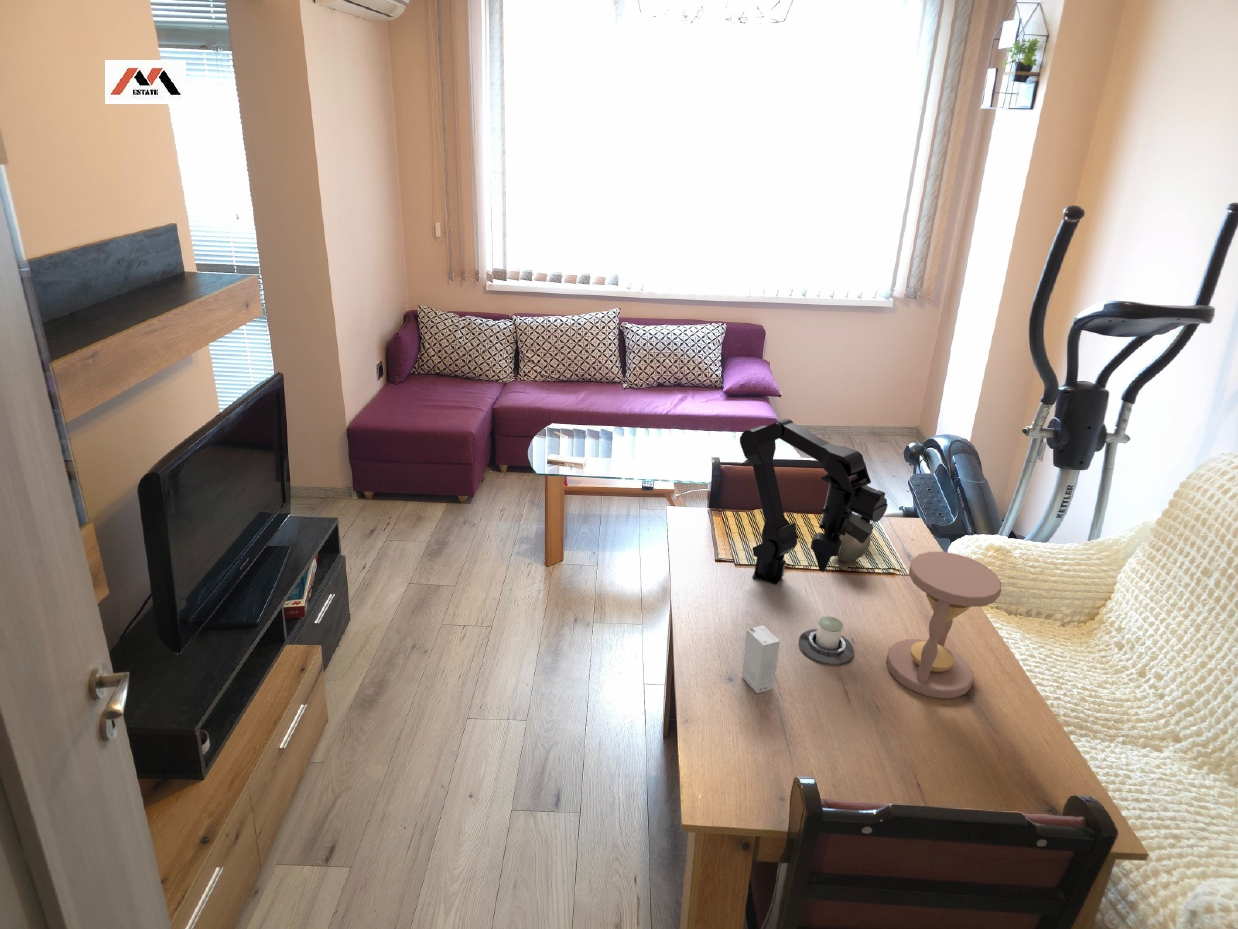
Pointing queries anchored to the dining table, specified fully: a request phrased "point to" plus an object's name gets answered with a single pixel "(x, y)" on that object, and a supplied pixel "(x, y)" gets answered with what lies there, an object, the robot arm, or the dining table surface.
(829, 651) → the collar
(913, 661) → the hourglass
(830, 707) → the dining table surface
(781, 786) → the dining table surface
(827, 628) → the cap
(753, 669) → the skincare box
